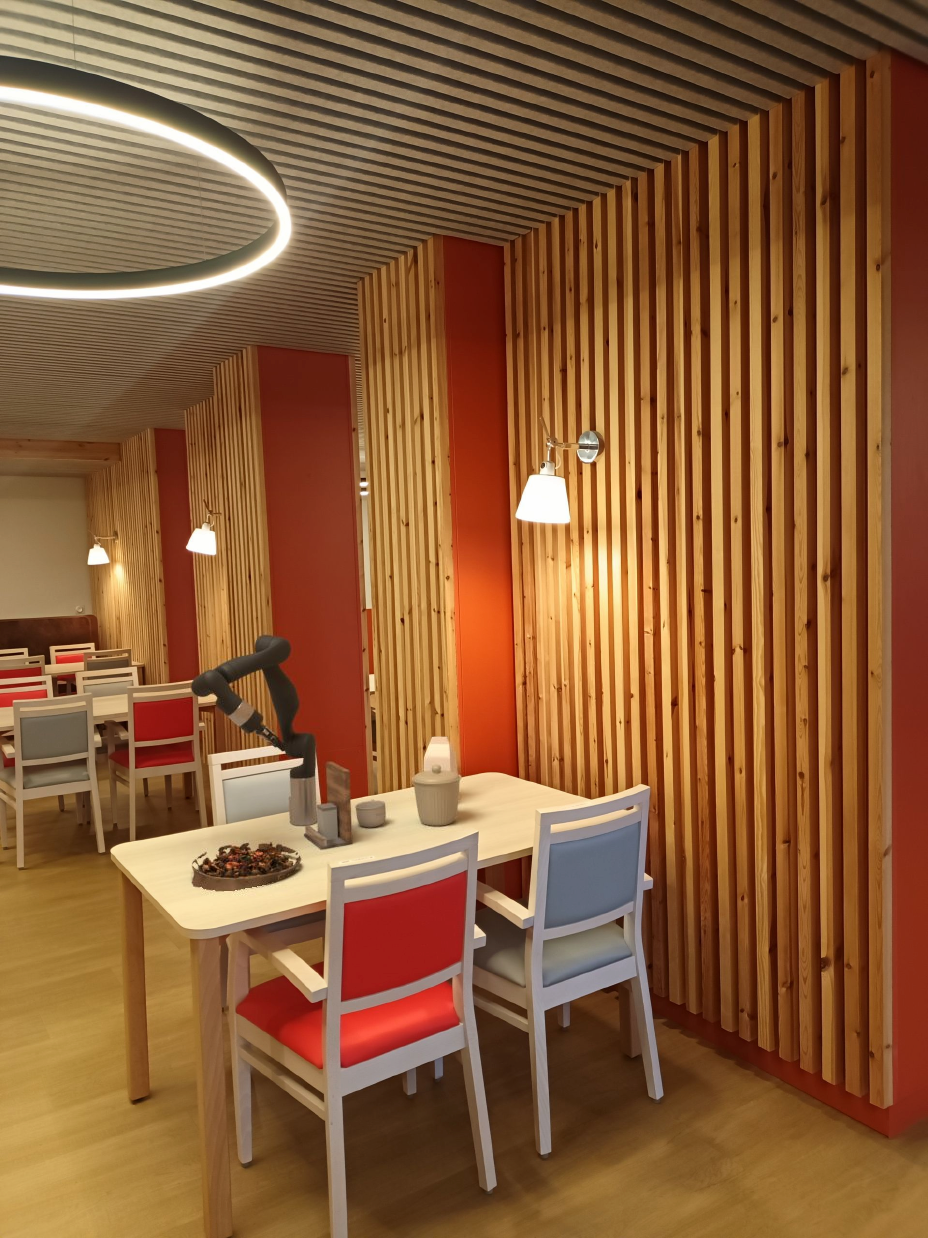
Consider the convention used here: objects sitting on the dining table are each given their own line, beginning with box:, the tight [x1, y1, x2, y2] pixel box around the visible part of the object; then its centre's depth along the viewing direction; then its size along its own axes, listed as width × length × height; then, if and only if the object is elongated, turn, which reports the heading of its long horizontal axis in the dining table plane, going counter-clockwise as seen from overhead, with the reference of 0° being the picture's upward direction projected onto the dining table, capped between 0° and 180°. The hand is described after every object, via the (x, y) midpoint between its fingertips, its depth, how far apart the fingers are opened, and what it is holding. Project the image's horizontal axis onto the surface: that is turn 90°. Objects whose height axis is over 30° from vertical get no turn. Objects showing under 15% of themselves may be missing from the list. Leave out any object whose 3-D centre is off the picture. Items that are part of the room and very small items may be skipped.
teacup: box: [354, 799, 387, 828], centre depth 330 cm, size 14×11×8 cm
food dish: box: [191, 841, 302, 892], centre depth 281 cm, size 35×33×8 cm
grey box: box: [316, 802, 338, 840], centre depth 311 cm, size 5×6×11 cm
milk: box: [423, 736, 461, 800], centre depth 358 cm, size 12×12×26 cm
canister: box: [411, 765, 462, 827], centre depth 329 cm, size 18×18×21 cm
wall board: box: [303, 761, 353, 851], centre depth 311 cm, size 11×18×25 cm, turn 28°
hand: (281, 747), depth 299 cm, fingers open, 8 cm apart
